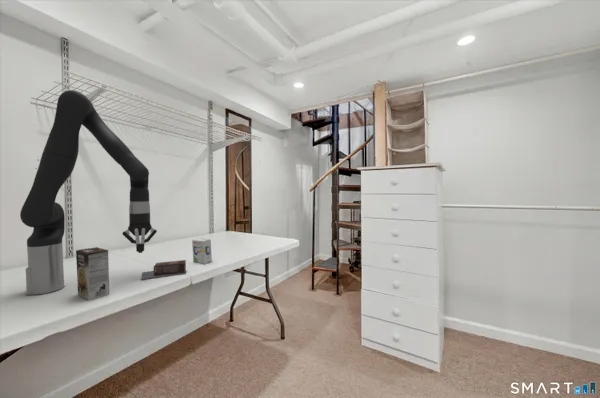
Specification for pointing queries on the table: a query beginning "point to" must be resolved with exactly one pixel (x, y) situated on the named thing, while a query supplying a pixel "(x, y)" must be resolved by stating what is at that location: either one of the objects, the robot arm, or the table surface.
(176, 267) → the box
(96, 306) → the table surface
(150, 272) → the mat
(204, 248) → the ink box
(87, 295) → the coffee box
